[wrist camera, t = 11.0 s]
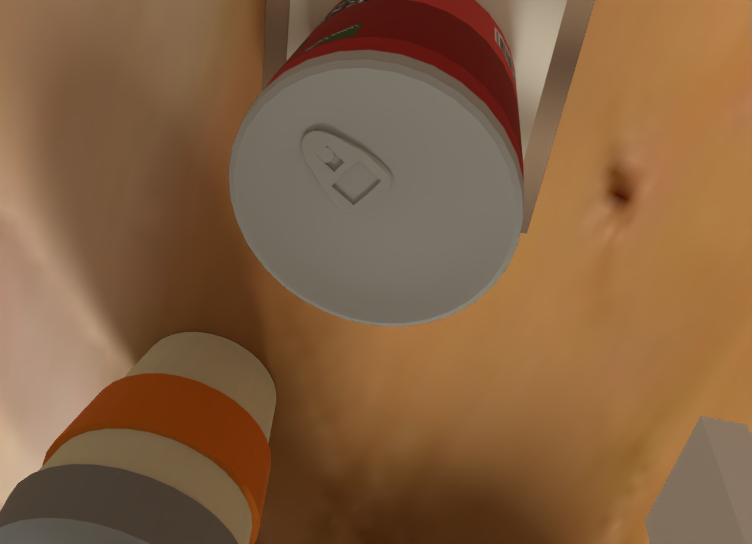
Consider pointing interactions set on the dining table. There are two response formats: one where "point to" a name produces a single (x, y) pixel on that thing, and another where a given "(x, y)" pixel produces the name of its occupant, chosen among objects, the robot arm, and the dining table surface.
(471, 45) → the canned food
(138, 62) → the dining table surface
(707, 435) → the robot arm
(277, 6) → the base
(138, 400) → the reusable coffee cup
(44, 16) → the dining table surface
